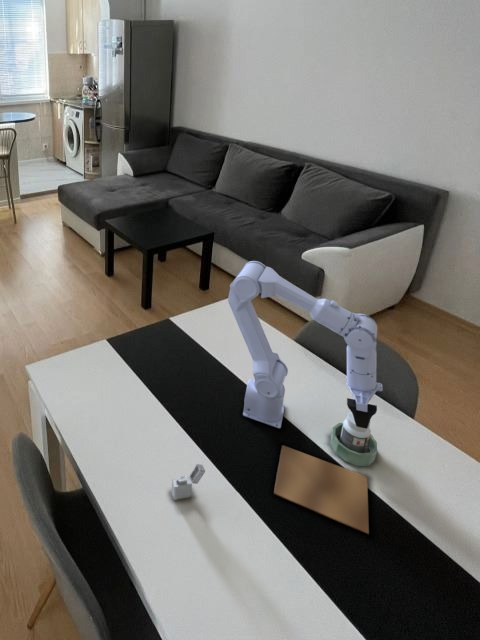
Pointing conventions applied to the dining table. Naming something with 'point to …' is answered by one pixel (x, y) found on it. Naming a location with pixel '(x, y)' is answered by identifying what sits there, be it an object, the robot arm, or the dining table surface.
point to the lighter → (186, 483)
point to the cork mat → (323, 488)
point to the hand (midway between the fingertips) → (361, 414)
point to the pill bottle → (354, 435)
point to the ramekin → (348, 454)
